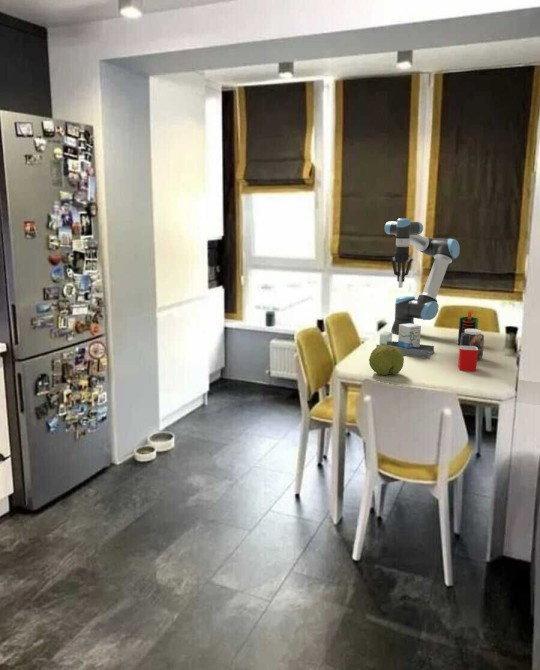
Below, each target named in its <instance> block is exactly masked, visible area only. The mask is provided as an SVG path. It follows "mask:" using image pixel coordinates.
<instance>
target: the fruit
mask: <svg viewBox="0 0 540 670" xmlns="http://www.w3.org/2000/svg"><path fill="white" fill-rule="evenodd" d="M404 356H405V355H403V354H402V352H401V350H399V349H398V348H397V347H394V346H390V345H387V346H386V345H383V346H379V347H377V348H376V347H375V348H374V349H373V350H372V351H371V353H370V356H369V359H368V362H369V366H370V368H371V369H372V370H373V372H374V373H376V374H377V375H379V376H387V375H395V374H396V375H397V374H398V373H400V372H401V370H402V369H403V367H404V362H405V357H404Z"/></svg>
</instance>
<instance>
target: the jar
mask: <svg viewBox="0 0 540 670" xmlns="http://www.w3.org/2000/svg"><path fill="white" fill-rule="evenodd" d="M484 345H485V335H484V334H483V333H482V330H481V329H465V332H464V333H462V334H461V341H460V344H459V346H475V347H477V348H478V353H477V362H479V361H482V360H483V356H484Z"/></svg>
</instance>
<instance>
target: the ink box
mask: <svg viewBox="0 0 540 670" xmlns="http://www.w3.org/2000/svg"><path fill="white" fill-rule="evenodd" d="M421 331H422V326H421V325H419V324H416V323H414V324H411V323H409V324H399V334H398V337H397V338H398V339H397V342H398V345H400V346H403V347H406V348H412V347H420V344H421V335H422V334H421V333H422V332H421Z"/></svg>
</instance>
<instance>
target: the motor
mask: <svg viewBox="0 0 540 670" xmlns="http://www.w3.org/2000/svg"><path fill="white" fill-rule="evenodd" d="M473 314H474V311H473V309H469V310H468V312H467V316H461V317H459V323H458V324H459V325H458V336H457V337H458V339H457V345H459V346H460V341H461V334H462V333H464V332H465V329H478V328H479V318H478V317H474V316H473ZM478 330H479V329H478Z"/></svg>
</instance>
